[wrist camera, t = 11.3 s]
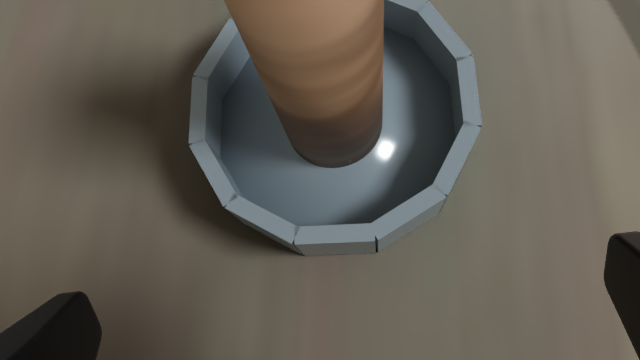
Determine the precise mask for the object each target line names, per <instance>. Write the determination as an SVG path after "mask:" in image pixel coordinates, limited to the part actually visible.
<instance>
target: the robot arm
mask: <svg viewBox="0 0 640 360" xmlns="http://www.w3.org/2000/svg"><path fill="white" fill-rule="evenodd" d="M604 282H605V286H606V289H607V291H608V293H609V295H610V297H611V300H612V302H613V304H614V306H615V308H616V310H617V313H618V315H619V317H620V319H621V321H622V323H623V325H624V328H625V330H626V332H627V334H628V336H629V338H630V341H631V343H632V345H633V347H634V349H635V351H636V353H637V356H638V358H639V360H640V232H626V233H617V234H614V235H612V236H611V237H610V239H609V242H608V247H607V254H606V261H605V269H604ZM101 336H102V331H101V326H100V323H99V321H98V318H97V316H96V314H95V312H94V310H93V307H92V305H91V303H90V301H89V299H88V297H87V295H86V294H85V293H83V292H80V291H78V292H68V293H61V294H58V295H56V296H55V297H53V298H52V299H50V300H49V301H47V302H46V303H44V304H43V305H41V306H40V307H39V308H37V309H36V310H34V311H33V312H31V313H30V314H28V315H27V316H25V317H24V318H22V319H21V320H19V321H18V322H16V323H15V324H13V325H12V326H10V327H9V328H8V329H6V330H5V331H3V332H2V333H0V360H96V357H97V353H98V349H99V346H100V342H101Z"/></svg>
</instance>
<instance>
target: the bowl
mask: <svg viewBox="0 0 640 360" xmlns="http://www.w3.org/2000/svg"><path fill="white" fill-rule="evenodd" d="M231 18H232V17H231ZM193 75H194V77H192V89H191V107H190V125H189V144H190V146H189V147H190V148H191V150H192V152H193V154H194V156H195V157H196V159H197V161H198V163H199V164H200V166H201V168H202V170H203V171H204V173H205V175H206V177H207V179H208V180H209V182H210V184H211V186H212V187H213V189H214V191H215V193H216V195H217V196H218V198H219V200H220V202H221V203H222V205H223V207H224V208H225V209H227V210H228V211H229V212H230V213H231V214H233V215H234V216H235V217H236V218H237V219H239V220H240V221H241V222H242V223H244V224H245V225H247V226H249V227H251V228H253V229H255V230H257V231H258V232H260V233H262V234H264V235H266V236H268V237H270V238H271V239H273V240H275V241H277V242H279V243H281V244H282V245H284V246H286V247H288V248H290V249H292V250H294V251H295V252H297V253H299V254H301V255H303V254H304V255H305V256H316V255H342V254H367V253H376V250H377V251H378V252H380V251H381V250H383V249H384V248H386V247H388V246H389V245H391V244H392V243H394V242H395V241H397V240H399V239H400V238H402V237H403V236H405V235H407V234H408V233H410V232H411V231H413V230H414V229H416V228H418V227H419V226H421V225H422V224H424V223H425V222H427V221H429V220H430V219H432V218H433V217H435V216H437V215H438V213H440V211H441V209H442V207H443V205H444V203H445V201H446V199H447V197H448V195H449V193H450V191H451V189H452V187H453V185H454V183H455V181H456V179H457V176H458V174H459V172H460V170H461V168H462V166H463V164H464V162H465V160H466V158H467V156H468V154H469V152H470V150H471V148H472V146H473V144H474V142H475V140H476V138H477V136H478V134H479V132H480V130H481V126H482V121H481V113H480V105H479V97H478V88H477V80H476V72H475V64H474V56H472V52H471V51H470V50H469V49H468V47H467V46H466V45H465V44H464V43H463V41H462V40H461V39H460V38H459V37H458V35H457V34H456V33H455V32H454V31H453V29H452V28H451V27H450V26H449V25H448V23H447V22H446V21H445V20H444V19H443V17H442V16H441V15H440V14H439V13H438V11H437V10H436V9H435V8H434V7H433V5H432V4H431V3H430V2H429V1H428V2H427V0H384V39H383V117H382V130H381V134H380V137H379V139H378V141H377V143H376V145H375V146H374V148H373V149H372V150H371V152H370V153H369V154H368V155H366V156H365V157H364V158H363V159H361V160H360V161H358V162H356V163H354V164H352V165H349V166H345V167H341V168H325V167H320V166H317V165H314V164H312V163H309V162H308V161H306V160H305V159H303V158H302V157H301V156H300V155H299V154H298V153H297V152H296V151H295V150H294V148H293V147H292V145H291V143H290V141H289V139H288V137H287V135H286V132H285V130H284V128H283V126H282V124H281V122H280V120H279V117H278V115H277V113H276V111H275V109H274V107H273V104H272V102H271V100H270V98H269V96H268V94H267V91H266V89H265V87H264V85H263V83H262V81H261V79H260V76H259V74H258V72H257V70H256V68H255V66H254V63H253V61H252V59H251V57H250V55H249V53H248V51H247V48H246V46H245V44H244V42H243V40H242V38H241V35H240V33H239V31H238V29H237V27H236V25H235V23H234V20H233V18H232V19H230V18H229V20H228V21H227V23H226V24H225V26H224V27H223V29H222V31H221V32H220V34H219V35H218V37H217V38H216V40H215V41H214V43H213V44H212V46H211V48H210V49H209V51H208V52H207V54H206V55H205V57H204V58H203V60H202V61H201V63H200V65H199V66H198V68H197V69H196V71H195V72H194V74H193Z"/></svg>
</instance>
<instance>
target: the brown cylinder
mask: <svg viewBox="0 0 640 360" xmlns="http://www.w3.org/2000/svg"><path fill="white" fill-rule="evenodd" d="M224 1H225V3H226V5H227V7H228V10H229V12H230V14H231V16H232V18H233V20H234V23H235V25H236V27H237V29H238V31H239V33H240V35H241V38H242V40H243V42H244V44H245V46H246V48H247V51H248V53H249V55H250V57H251V59H252V61H253V63H254V66H255V68H256V70H257V72H258V74H259V76H260V79H261V81H262V83H263V85H264V87H265V89H266V91H267V94H268V96H269V98H270V100H271V102H272V104H273V107H274V109H275V111H276V113H277V115H278V117H279V120H280V122H281V124H282V126H283V128H284V130H285V132H286V135H287V137H288V139H289V141H290V143H291V145H292V147H293V148H294V150H295V151H296V152H297V153H298V154H299V155H300V156H301V157H302V158H303V159H305V160H306V161H308V162H309V163H312V164H314V165H317V166H320V167H325V168H341V167H345V166H349V165H352V164H354V163H356V162H358V161H360V160H361V159H363V158H364V157H365V156H366V155H368V154H369V153H370V152H371V150H372V149H373V148H374V146H375V145H376V143H377V141H378V139H379V137H380V134H381V130H382V117H383V39H384V0H224Z"/></svg>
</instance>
